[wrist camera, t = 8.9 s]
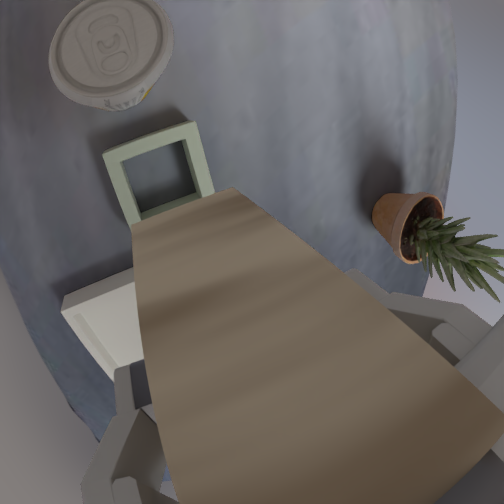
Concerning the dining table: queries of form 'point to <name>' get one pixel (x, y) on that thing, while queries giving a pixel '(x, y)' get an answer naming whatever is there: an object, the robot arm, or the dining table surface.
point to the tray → (107, 320)
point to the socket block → (147, 143)
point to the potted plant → (434, 239)
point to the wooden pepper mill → (295, 374)
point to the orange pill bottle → (111, 52)
